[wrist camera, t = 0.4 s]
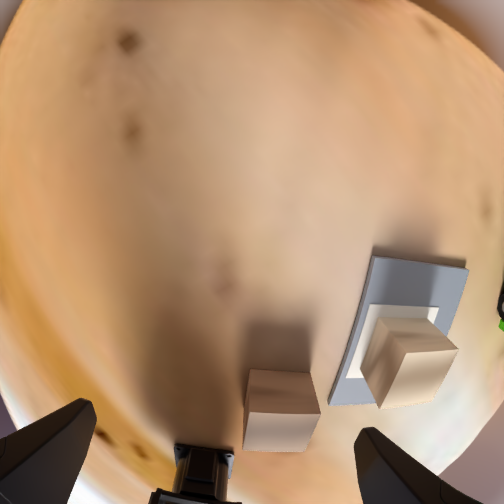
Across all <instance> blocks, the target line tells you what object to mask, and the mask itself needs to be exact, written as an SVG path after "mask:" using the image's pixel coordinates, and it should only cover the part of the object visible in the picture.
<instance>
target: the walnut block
mask: <svg viewBox="0 0 504 504" xmlns="http://www.w3.org/2000/svg"><path fill="white" fill-rule="evenodd" d="M320 415H321V412H320V408H319V404H318V400H317V396H316V393H315V389H314V385H313V381H312V378H311V374H310V373H309V372H286V371H270V370H257V369H250V373H249V380H248V386H247V392H246V399H245V405H244V418H243V448H242V450H247V451H265V452H304V451H305V449H306V447H307V445H308V443H309V441H310V438H311V436H312V434H313V432H314V429H315V427H316V425H317V422H318V420H319V418H320Z"/></svg>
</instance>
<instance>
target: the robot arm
mask: <svg viewBox="0 0 504 504" xmlns="http://www.w3.org/2000/svg"><path fill="white" fill-rule="evenodd" d="M96 422H97V417H96V413H95V410H94V407H93V404H92V402H91V401H90V400H87V399H84V398H79V399H77V400H75V401H73V402H71V403H69V404H67V405H66V406H64V407H62V408H60V409H58V410H56V411H54V412H53V413H51V414H49V415H47V416H45V417H43V418H41V419H39V420H37V421H35V422H33V423H31V424H29V425H28V426H26V427H24V428H22V429H20V430H18V431H16V432H14V433H12V434H10V435H8V436H7V437H3V438H1V439H0V504H67V502H68V499H69V497H70V494H71V492H72V489H73V487H74V484H75V482H76V479H77V477H78V474H79V472H80V470H81V467H82V465H83V463H84V460H85V458H86V455H87V452H88V448H89V445H90V442H91V438H92V435H93V432H94V428H95V425H96ZM174 453H175V460H176V467H177V470H176V475H175V479H174V484H173V488H172V492H170V491H166V490H163V489H160V488H157V490H156V492H152V493H151V497H150V500H149V503H148V504H242V502H227V501H226V498H227V484H228V479H230V478H231V472H232V466H233V460H234V453H233V452H231V451H223V450H214V449H207V448H200V447H193V446H187V445H181V444H175V446H174ZM354 453H355V461H356V469H357V477H358V484H359V488H360V492H361V496H362V500H363V504H483V503H481V502H479V501H477V500H475V499H473V498H471V497H469V496H467V495H465V494H463V493H462V492H460V491H458V490H456V489H455V488H454V487H452V486H451V485H449V484H448V483H446V482H444V481H443V480H441V479H440V478H439V477H438V476H437V475H435V474H434V473H432V472H431V471H430V470H428V469H427V468H426V467H424V466H423V465H422V464H420V463H419V462H418V461H417V460H415V459H414V458H413V457H411V456H410V455H409V454H407V453H406V452H405V451H404V450H402V449H401V448H400V447H399V446H397V445H396V444H395V443H394V442H392V441H391V440H390V439H389V438H387V437H386V436H385V435H384V434H382V433H381V432H380V431H379V430H377V429H376V428H375V427H367V428H363V429H362V430H361V431H360V433H359V435H358V437H357V439H356V441H355V443H354Z"/></svg>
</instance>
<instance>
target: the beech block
mask: <svg viewBox="0 0 504 504" xmlns="http://www.w3.org/2000/svg"><path fill="white" fill-rule="evenodd" d="M458 350H459V349H458V348H457V347H456V346H455V345H454V344H453V343H452V342H451V341H450V340H449V339H448V338H447V337H446V336H445V335H444V334H443V333H442V332H441V331H440V330H439V329H438V328H437V327H436V326H435V325H434V324H433V323H432V322H430V321H429V320H428V319H427V318H393V317H378V318H377V322H376V325H375V328H374V331H373V334H372V337H371V340H370V342H369V345H368V348H367V351H366V354H365V356H364V359H363V362H362V364H361V367H360V371H361V373H362V375H363V377H364V379H365V381H366V383H367V385H368V387H369V389H370V391H371V393H372V395H373V397H374V399H375V401H376V404H377V406H378V408H379V409H388V408H396V407H403V406H410V405H416V404H422V403H428V402H432V400H433V398H434V396H435V395H436V393H437V391H438V389H439V388H440V386H441V384H442V382H443V380H444V378H445V376H446V375H447V373H448V371H449V369H450V367H451V365H452V363H453V361H454V358H455V356H456V354H457V352H458Z"/></svg>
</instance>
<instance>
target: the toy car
mask: <svg viewBox="0 0 504 504" xmlns="http://www.w3.org/2000/svg"><path fill="white" fill-rule="evenodd" d="M497 309H498V312H499V316H500V317H501V318H502V319H501V320H500V324H499V328H500V329H501V330H503V331H504V294H502V295H501V296H500V297H499V300H498V307H497Z"/></svg>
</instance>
